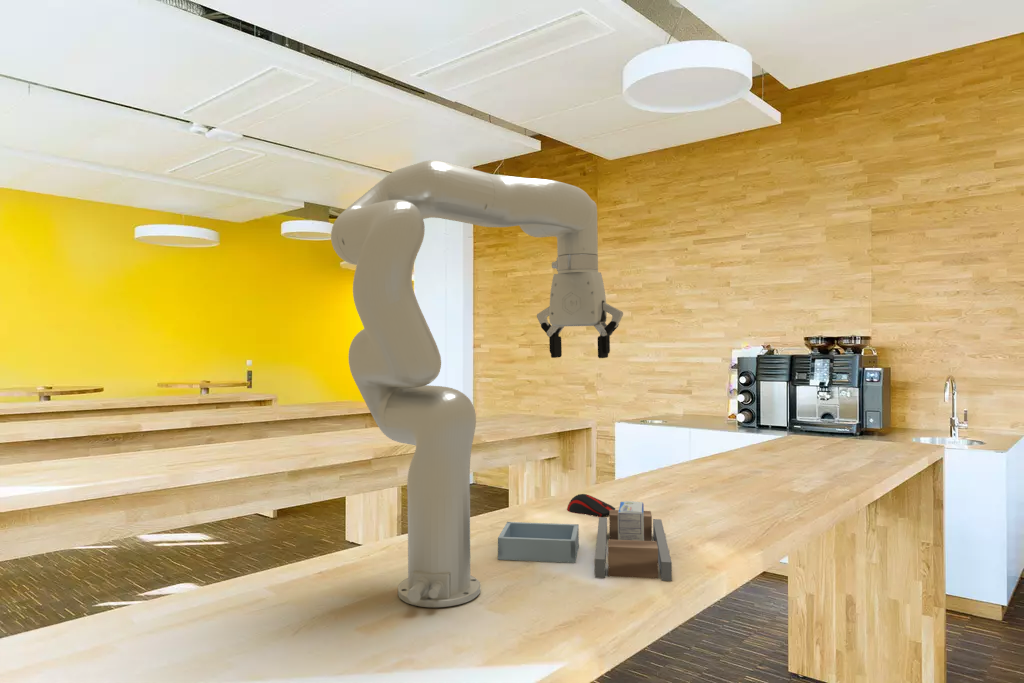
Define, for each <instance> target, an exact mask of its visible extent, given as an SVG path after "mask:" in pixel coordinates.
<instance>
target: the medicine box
mask: <svg viewBox="0 0 1024 683" xmlns="http://www.w3.org/2000/svg"><path fill="white" fill-rule="evenodd" d="M644 506H645V505H644V502H643V501H630V500H629V501H627V500H625V501H620V503H619V506H618V510H619V511H618V540H639V541H644V511H645V508H644Z"/></svg>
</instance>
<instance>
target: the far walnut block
mask: <svg viewBox="0 0 1024 683" xmlns="http://www.w3.org/2000/svg"><path fill="white" fill-rule="evenodd" d="M618 511H619V509H615V510H610V512H609V517H608V520H609V523H608V524H609V526H608V528H609V530H608V531H609V533H608V534H609V539H613V540H618ZM644 541H653V514H652V511H651V510H644Z"/></svg>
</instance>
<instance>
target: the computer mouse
mask: <svg viewBox="0 0 1024 683" xmlns="http://www.w3.org/2000/svg"><path fill="white" fill-rule="evenodd" d="M566 510H567V511H568V512H569V513H572V514H577V515H585V514H586V516H591V515H593V516H592V517H597V516H598V517H597V518H599V517H608V515H609V512H610V510H616V507H614V506H612V505H611V504H609V503H607V502H605V501H602V500H601V499H598V498H597V497H595V496H593V495H590V494H585V493H580V494H577V495H574V497H572V498H571V500H570V501H569V502H568V504H567V508H566Z"/></svg>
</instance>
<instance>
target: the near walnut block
mask: <svg viewBox="0 0 1024 683" xmlns="http://www.w3.org/2000/svg"><path fill="white" fill-rule="evenodd" d="M607 542H608V543H607V577H616V578H617V577H619V578H620V577H621V578H640V579H659V564H658V546H657V541H654V540H652V541H639V540H613V539H608V538H607Z"/></svg>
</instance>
